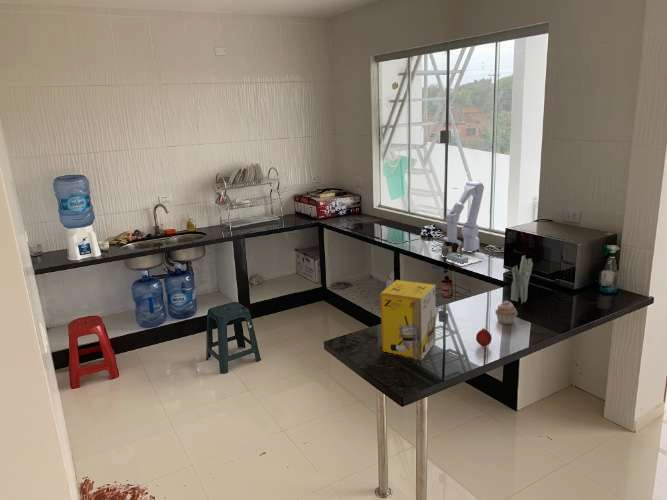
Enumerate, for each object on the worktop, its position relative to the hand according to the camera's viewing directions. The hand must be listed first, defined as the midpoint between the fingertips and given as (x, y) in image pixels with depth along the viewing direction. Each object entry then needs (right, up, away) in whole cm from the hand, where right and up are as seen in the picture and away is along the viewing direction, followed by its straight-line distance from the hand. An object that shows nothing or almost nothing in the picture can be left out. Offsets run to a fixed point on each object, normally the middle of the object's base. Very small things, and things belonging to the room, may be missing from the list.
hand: (451, 253), depth 312 cm
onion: (-15, -36, -116) cm, 122 cm away
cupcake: (+1, -29, -96) cm, 100 cm away
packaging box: (-44, -37, -113) cm, 127 cm away
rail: (0, -1, 0) cm, 1 cm away
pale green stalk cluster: (+15, -22, -73) cm, 78 cm away
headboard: (+4, -5, -12) cm, 13 cm away
